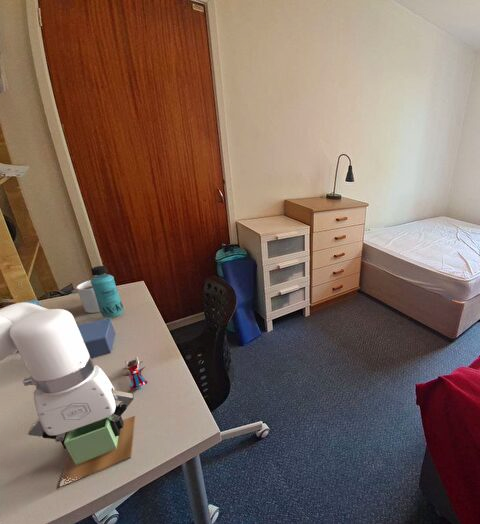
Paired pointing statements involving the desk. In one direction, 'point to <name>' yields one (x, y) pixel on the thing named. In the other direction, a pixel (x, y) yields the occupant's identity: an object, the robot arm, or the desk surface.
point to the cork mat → (103, 455)
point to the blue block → (98, 337)
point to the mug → (88, 297)
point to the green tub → (91, 441)
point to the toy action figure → (135, 374)
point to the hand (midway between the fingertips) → (97, 438)
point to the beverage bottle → (106, 292)
